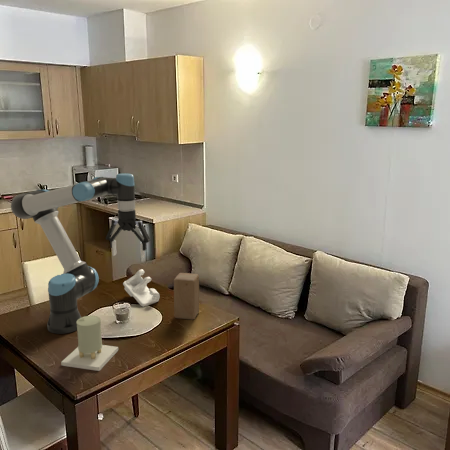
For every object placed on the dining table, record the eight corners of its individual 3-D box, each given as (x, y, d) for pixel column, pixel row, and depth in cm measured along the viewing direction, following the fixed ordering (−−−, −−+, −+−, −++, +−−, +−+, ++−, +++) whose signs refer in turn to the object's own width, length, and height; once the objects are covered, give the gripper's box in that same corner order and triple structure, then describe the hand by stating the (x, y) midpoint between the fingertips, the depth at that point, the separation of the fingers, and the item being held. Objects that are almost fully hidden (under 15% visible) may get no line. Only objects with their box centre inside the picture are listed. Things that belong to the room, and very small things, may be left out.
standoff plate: (61, 365, 178) (60, 354, 176) (83, 345, 193) (82, 335, 192) (99, 370, 174) (98, 360, 173) (118, 350, 189) (117, 340, 188)
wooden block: (194, 320, 217) (193, 280, 212) (173, 318, 218) (173, 278, 214) (199, 311, 226) (199, 273, 221) (180, 310, 228) (179, 271, 223)
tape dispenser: (157, 308, 242) (164, 290, 235) (139, 315, 233) (146, 296, 227) (135, 283, 251) (141, 265, 244) (118, 289, 243) (123, 270, 236)
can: (84, 340, 187) (82, 313, 184) (105, 342, 186) (104, 315, 183) (74, 352, 178) (72, 323, 176) (96, 354, 177) (95, 325, 174)
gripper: (156, 209, 201) (158, 255, 206) (104, 206, 206) (107, 251, 211) (150, 212, 194) (151, 260, 199) (96, 209, 199) (99, 256, 204)
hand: (128, 256), depth 205 cm, fingers open, 13 cm apart
